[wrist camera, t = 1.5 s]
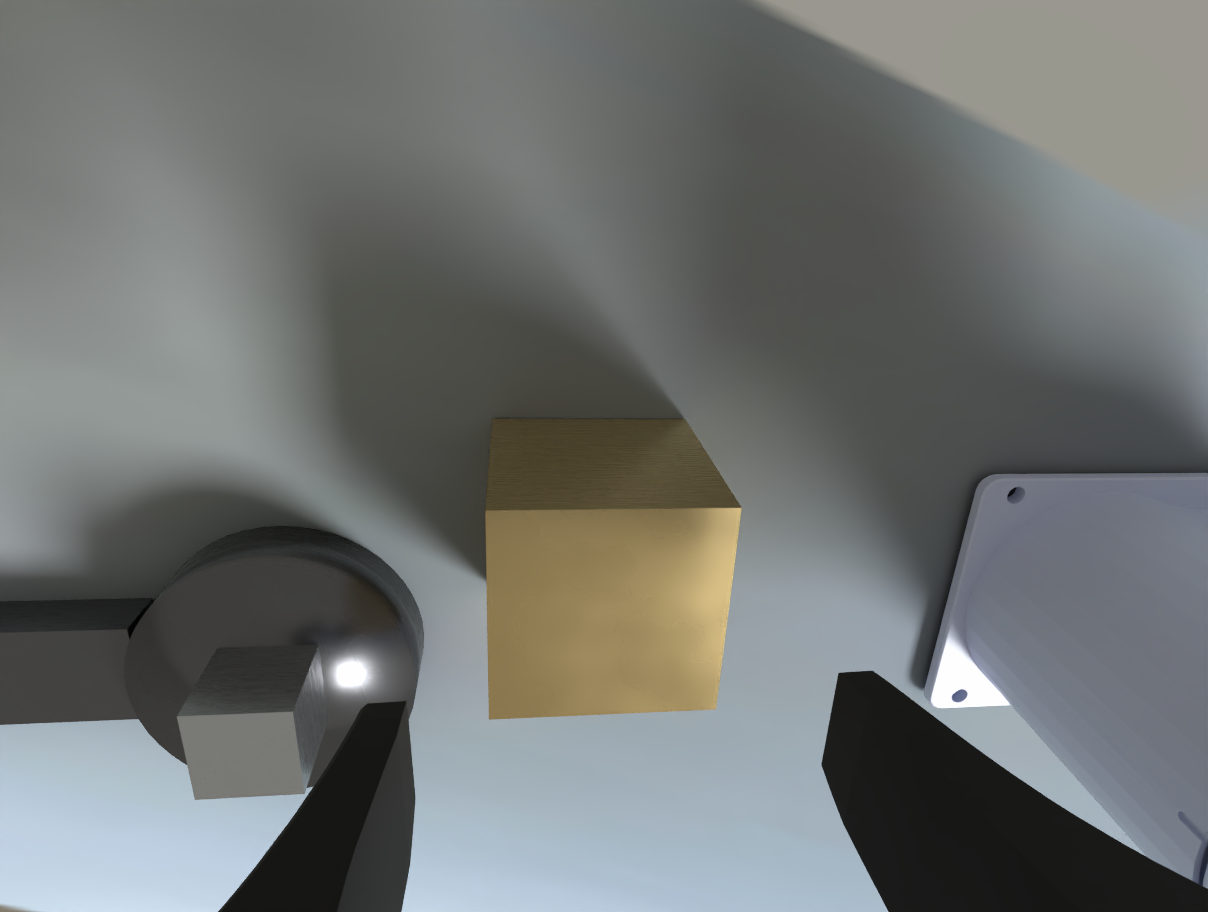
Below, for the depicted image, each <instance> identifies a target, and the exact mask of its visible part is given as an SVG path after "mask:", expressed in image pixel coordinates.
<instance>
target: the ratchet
mask: <svg viewBox="0 0 1208 912" xmlns="http://www.w3.org/2000/svg"><path fill="white" fill-rule="evenodd" d="M423 648H424V631H423V623H422V618H421V615H420V612H419V608H418V606H417V604H416V602H415V599H414V597H413V595H412V593H411V592H410V590H409V589H408V587H407V586H406V584H405V583H404V581H403V580H402V579H401V578H400V577H399V576H398V574H397V573H396V572H395V571H394V570H393V569H392V568H391V567H390V566H389V565H387V564H386V563H385V562H384V561H383V560H382V559H381V558H379V557H378V556H376V555H375V554H373V553H372V552H370V551H369V550H367V549H366V548H364V547H362V546H360V545H358V544H356V543H354V542H352V541H350V540H348V539H345V538H343V537H340V536H338V535H335V534H331V533H328V532H324V531H320V530H316V529H310V528H303V527H291V526H273V527H261V528H256V529H250V530H245V531H241V532H238V533H235V534H232V535H229V536H226V537H224V538H222V539H220V540H217V541H215V542H213V543H211V544H210V545H208V546H206V547H205V548H203V549H202V550H200V551H199V552H197V553H196V554H195V555H194V556H193V557H191V558H190V559H189V560H188V561H187V562H186V563H185V564H184V565H183V566H182V567H181V569H180V570H179V571H178V572H177V573H176V574H175V576H174V577H173V578H172V580H171V581H170V582H169V583H168V585H167V586H166V587H165V588H164V590H163V591H162V592H161V593H160V595H159V596H158V597H157V599H156V600H155V601H154V602H153V601H152V598H136V599H93V600H51V601H8V602H0V725H6V724H30V723H53V722H77V721H100V720H124V719H139V720H140V722H141V723H142V725H143V726H144V727H145V729H146V730H147V732H148V733H149V734H150V735H151V736H152V737H153V738H154V739H155V740H156V741H157V742H158V744H159V745H161V746H162V747H163V748H164V749H165V750H167V751H168V752H169V753H170V754H171V755H173V756H174V757H176V758H177V759H179V760H180V761H182V762H183V763H185V764H186V765H188V770H189V774H190V779H191V784H192V788H193V793H194V797H195V800H200V799H218V798H236V797H254V796H272V795H290V794H305V791H306V788H308V787H313V786H314V785H315V784H316V782H317V781H318V780H319V778H320V777H321V775H322V774H323V772H324V770H325V769H326V767H327V766H328V764H329V763H330V761H331V759H332V758H333V756H334V755H335V753H336V751H337V750H338V748H339V746H340V745H341V743H342V741H343V740H344V738H345V736H346V735H347V733H348V731H349V729H350V728H351V726H352V724H353V722H354V721H355V719H356V717H357V715H358V713H359V711H360V710H361V709H362V708H363V707H364V706H365V705H366V704H367V703H383V702H398V701H407V710H408V720H409V717H410V714H411V711H412V709H413V704H414V699H415V693H416V688H417V682H418V676H419V671H420V665H421V659H422V654H423Z"/></svg>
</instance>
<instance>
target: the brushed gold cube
mask: <svg viewBox="0 0 1208 912" xmlns="http://www.w3.org/2000/svg"><path fill="white" fill-rule="evenodd" d="M741 509H742V508H741V506H740V504H739V503H738V501H737V500H736V498H735V497H734V495H733V493H732V492H731V490H730V489H729V487H728V486H727V484H726V482H725V481H724V479H723V478H722V476H721V475H720V473H719V471H718V470H717V468H716V467H715V465H714V464H713V462H712V460H711V459H710V457H709V456H708V454H707V453H706V451H705V449H704V448H703V446H702V445H701V443H700V442H699V440H698V438H697V437H696V435H695V434H694V432H693V431H692V429H691V427H690V426H689V424H688V423H687V421H686V420H685V419H492V428H491V442H490V455H489V468H488V482H487V495H486V508H485V520H486V576H487V631H488V687H489V719H510V718H532V717H555V716H577V715H600V714H622V713H644V712H667V711H689V710H711V709H716V705H717V697H718V689H719V681H720V674H721V666H722V658H723V650H724V642H725V634H726V627H727V619H728V611H729V603H730V595H731V587H732V580H733V572H734V564H735V556H736V548H737V540H738V533H739V525H740V517H741Z"/></svg>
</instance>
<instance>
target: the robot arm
mask: <svg viewBox="0 0 1208 912" xmlns="http://www.w3.org/2000/svg"><path fill="white" fill-rule="evenodd" d="M1015 487H1016V491H1015V492H1014V494H1013V495H1011V496H1010V497H1007V495H1008V493H1009V491H1010V490H1012V489H1013V488H1015ZM957 690H959V691H957ZM955 691H957V692H956V693H954V692H955ZM953 693H954V694H953ZM924 695H925V697H926V699H927V700H928V701H929V703H930V704H931V705H932V706H934V707H936V708H954V707H976V706H997V705H1011V706H1012V707H1013V708H1014V709H1015V710H1016V711H1017V712H1018V714H1019V715H1020V716H1021V717H1022V718H1023V719H1024V720H1025V721H1026V722H1027V724H1028V725H1029V726H1030V727H1031V728H1032V729H1033V730H1034V731H1035V733H1036V734H1037V735H1038V736H1039V737H1040V738H1041V739H1042V740H1043V742H1044V743H1045V744H1046V745H1047V746H1048V747H1049V748H1050V749H1051V750H1052V752H1053V753H1054V754H1055V755H1056V756H1057V757H1058V758H1059V759H1060V761H1061V762H1062V763H1063V764H1064V765H1065V766H1066V767H1067V768H1068V769H1069V771H1070V772H1071V773H1072V774H1073V775H1074V776H1075V777H1076V778H1077V780H1078V781H1079V782H1080V783H1081V784H1082V785H1083V786H1084V787H1085V788H1086V790H1087V791H1088V792H1089V793H1090V794H1091V795H1092V796H1093V797H1094V799H1095V800H1096V801H1097V802H1098V803H1099V804H1100V805H1101V806H1102V807H1103V809H1104V810H1105V811H1106V812H1107V813H1108V814H1109V815H1110V816H1111V818H1112V819H1113V820H1114V821H1115V822H1116V823H1117V824H1118V825H1119V827H1120V828H1121V829H1122V830H1123V831H1124V832H1125V833H1126V834H1127V835H1128V837H1129V838H1130V839H1131V840H1132V841H1133V842H1134V843H1135V844H1136V846H1137V847H1138V848H1139V849H1140V850H1141V851H1142V852H1143V853H1144V854H1145V856H1144V855H1142V854H1140V853H1139V852H1137V851H1135V850H1133V849H1131V848H1129V847H1128V846H1126V845H1124V844H1122V843H1121V842H1119V841H1117V840H1116V839H1114V838H1112V837H1111V836H1109V835H1107V834H1105V833H1104V832H1102V831H1100V830H1099V829H1097V828H1095V827H1094V826H1092V825H1090V824H1089V823H1087V822H1085V821H1084V820H1082V819H1080V818H1078V817H1077V816H1075V815H1074V814H1072V813H1070V812H1069V811H1067V810H1066V809H1064V808H1062V807H1061V806H1059V805H1058V804H1056V803H1055V802H1053V801H1051V800H1050V799H1048V798H1047V797H1045V796H1044V795H1043V794H1041V793H1040V792H1038V791H1037V790H1035V789H1034V788H1032V787H1031V786H1029V785H1028V784H1026V783H1025V782H1023V781H1022V780H1020V779H1019V778H1017V777H1016V776H1014V775H1013V774H1011V773H1010V772H1009V771H1007V770H1006V769H1004V768H1003V767H1001V766H1000V765H999V764H997V763H996V762H994V761H993V760H992V759H990V758H989V757H987V756H986V755H985V754H983V753H982V752H980V751H979V750H978V749H976V748H975V747H974V746H972V745H971V744H970V743H968V742H967V741H966V740H964V739H963V738H961V737H960V736H959V735H957V734H956V733H955V732H954V731H952V730H951V729H950V728H948V727H947V726H946V725H944V724H943V723H942V722H940V721H939V720H938V719H936V718H935V717H934V716H932V715H931V714H930V713H928V712H927V711H926V710H925V709H923V708H922V707H921V706H919V705H918V704H917V703H915V702H914V701H913V700H911V699H910V698H909V697H908V696H906V695H905V694H904V693H902V692H901V691H900V690H898V689H897V688H896V687H894V686H893V685H892V684H890V683H889V682H888V681H886V680H885V679H883V678H882V677H881V676H879V675H878V674H876V673H875V672H873V671H861V672H845V673H839V674H838V679H837V684H836V690H835V695H834V700H833V706H832V711H831V717H830V722H829V727H828V733H827V738H826V743H825V749H824V754H823V759H822V768H823V770H824V773H825V776H826V779H827V782H828V784H829V787H830V790H831V793H832V796H833V798H834V801H835V803H836V806H837V809H838V811H839V814H840V816H841V819H842V821H843V824H844V826H845V828H846V830H847V832H848V834H849V836H850V838H851V840H852V842H853V844H854V846H855V848H856V850H857V852H858V854H859V856H860V858H861V860H862V861H863V863H864V865H865V867H866V869H867V871H868V873H869V875H870V877H871V879H872V881H873V883H874V885H875V887H876V888H877V890H878V892H879V894H880V896H881V898H882V900H883V902H884V904H885V906H886V908H887V910H888V911H889V912H1208V473H1102V474H994V475H990V476H988V477H986V478H984V479H983V480H982V481H981V482H980V483H979V484H978V487H977V489H976V491H975V495H974V499H973V503H972V507H971V511H970V514H969V518H968V522H967V526H966V530H965V534H964V538H963V542H962V545H961V549H960V553H959V557H958V561H957V565H956V569H955V573H954V576H953V580H952V584H951V588H950V592H949V596H948V600H947V604H946V607H945V611H944V615H943V619H942V623H941V627H940V631H939V635H938V638H937V642H936V646H935V650H934V654H933V658H932V662H931V666H930V669H929V673H928V677H927V681H926V685H925V689H924ZM414 810H415V788H414V777H413V766H412V755H411V744H410V733H409V721H408V710H407V701H398V702H383V703H367V704H366V705H365V706H364V707H363V708H362V709H361V710H360V711H359V713H358V715H357V717H356V719H355V721H354V722H353V724H352V726H351V728H350V729H349V731H348V733H347V735H346V736H345V738H344V740H343V741H342V743H341V745H340V746H339V748H338V750H337V751H336V753H335V755H334V756H333V758H332V759H331V761H330V763H329V764H328V766H327V767H326V769H325V770H324V772H323V774H322V775H321V777H320V778H319V780H318V781H317V782H316V784H315V785H314V787H313V788H312V790H311V791H310V793H309V794H308V796H307V797H306V799H305V800H304V802H303V803H302V805H301V806H300V808H299V809H298V811H297V812H296V813H295V815H294V816H293V818H292V819H291V820H290V822H289V823H288V825H287V826H286V827H285V828H284V830H283V831H282V832H281V834H280V835H279V836H278V838H277V839H276V840H275V842H274V843H273V844H272V846H271V847H270V848H269V850H268V851H267V852H266V854H265V855H264V856H263V858H262V859H261V860H260V862H259V863H258V864H257V866H256V867H255V868H254V869H253V871H252V872H251V873H250V874H249V876H248V877H247V878H246V879H245V880H244V882H243V883H242V884H241V885H240V887H239V888H238V889H237V890H236V891H235V893H234V894H233V895H232V896H231V897H230V899H229V900H228V901H227V902H226V903H225V905H224V906H223V907H222V908H221V909H220V910H219V911H218V912H401V910H402V905H403V899H404V894H405V889H406V883H407V878H408V872H409V867H410V858H411V847H412V835H413V823H414Z"/></svg>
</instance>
